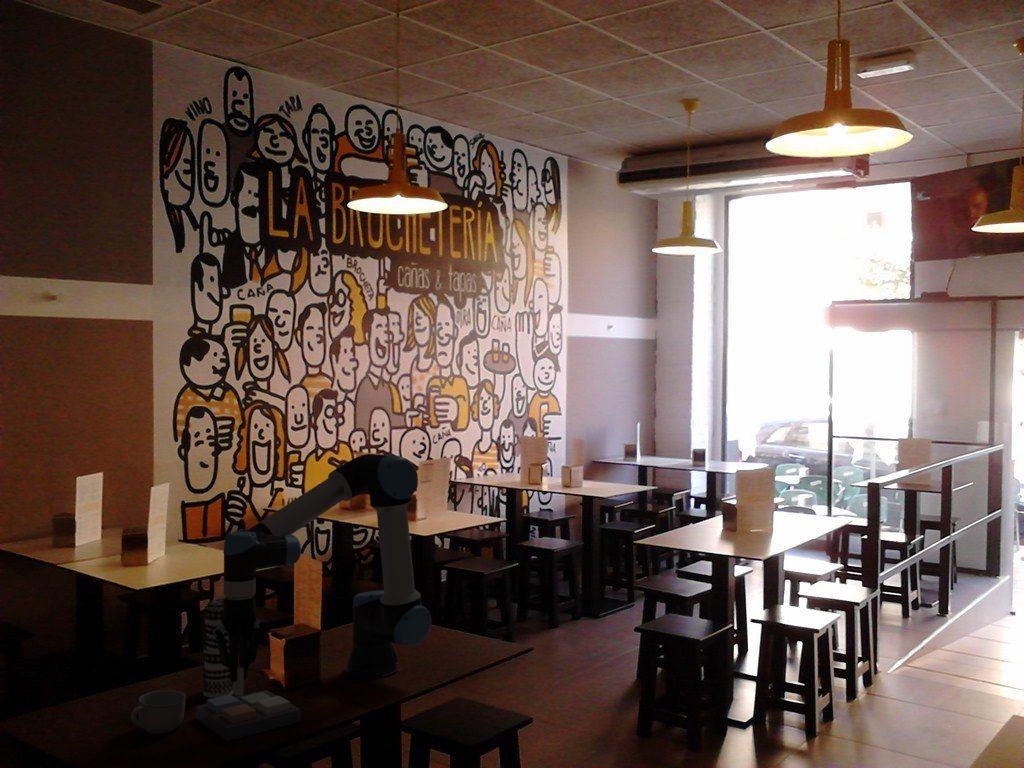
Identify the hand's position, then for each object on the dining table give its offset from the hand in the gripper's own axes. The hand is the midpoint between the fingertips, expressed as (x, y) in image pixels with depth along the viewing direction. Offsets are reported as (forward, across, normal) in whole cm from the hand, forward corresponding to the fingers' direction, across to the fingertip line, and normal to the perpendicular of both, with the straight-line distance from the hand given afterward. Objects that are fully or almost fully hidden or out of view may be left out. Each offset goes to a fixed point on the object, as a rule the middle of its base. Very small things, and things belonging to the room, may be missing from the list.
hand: (238, 693), depth 214 cm
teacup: (+9, +15, -12) cm, 21 cm away
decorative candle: (+9, -8, -29) cm, 31 cm away
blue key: (+7, 0, -9) cm, 11 cm away
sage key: (+8, -9, -9) cm, 15 cm away
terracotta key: (+7, 0, 0) cm, 7 cm away
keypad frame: (+9, -5, -4) cm, 11 cm away
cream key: (+7, -9, 0) cm, 12 cm away
